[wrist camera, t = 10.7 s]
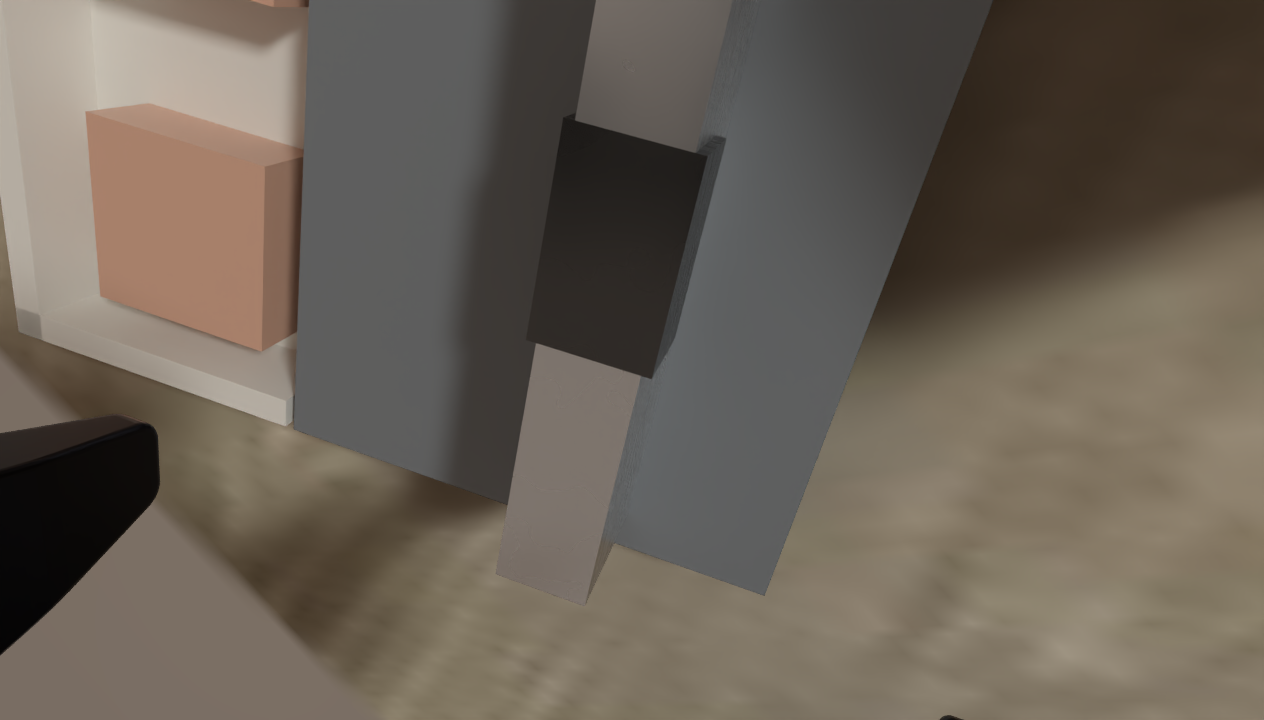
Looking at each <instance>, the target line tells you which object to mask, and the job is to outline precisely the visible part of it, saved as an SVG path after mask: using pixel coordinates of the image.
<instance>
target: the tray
mask: <svg viewBox="0 0 1264 720" xmlns="http://www.w3.org/2000/svg"><path fill="white" fill-rule="evenodd" d="M308 17H309V7H272V6H268V5H264V4H261V3H257V2H254V1H250V0H0V196H1V203H2V211H3V218H4V225H5V233H6V240H7V248H8V255H9V263H10V270H11V277H12V285H13V292H14V300H15V307H16V315H17V322H18V329H19V332H20V333H23V334H25V335H28V336H31V337H34V338H37V339H40V340H42V341H45V342H48V343H51V344H54V345H57V346H59V347H62V348H65V349H68V350H71V351H74V352H76V353H79V354H82V355H85V356H88V357H91V358H93V359H96V360H99V361H102V362H105V363H108V364H110V365H113V366H116V367H119V368H122V369H124V370H127V371H130V372H133V373H136V374H139V375H141V376H144V377H147V378H150V379H153V380H156V381H158V382H161V383H164V384H167V385H170V386H173V387H175V388H178V389H181V390H184V391H187V392H190V393H192V394H195V395H198V396H201V397H204V398H206V399H209V400H212V401H215V402H218V403H221V404H223V405H226V406H229V407H232V408H235V409H238V410H240V411H243V412H246V413H249V414H252V415H255V416H257V417H260V418H263V419H266V420H269V421H272V422H274V423H277V424H280V425H283V426H287V425H288V424H289V423H291V422H292V421H294V407H295V379H296V351H297V332H296V333H294V334H292V335H290V336H288V337H287V338H285V339H283V340H281V341H280V342H278V343H276V344H274V345H273V346H271V347H269V348H267V349H266V350H264V351H262V352H261V351H258V350H255V349H252V348H250V347H247V346H244V345H241V344H238V343H235V342H232V341H229V340H226V339H223V338H220V337H217V336H215V335H212V334H209V333H206V332H203V331H200V330H197V329H194V328H191V327H188V326H185V325H183V324H180V323H177V322H174V321H171V320H168V319H165V318H162V317H159V316H156V315H153V314H150V313H148V312H145V311H142V310H139V309H136V308H133V307H130V306H127V305H124V304H121V303H118V302H116V301H113V300H110V299H107V298H104V297H101V296H100V287H99V274H98V262H97V249H96V237H95V225H94V212H93V200H92V187H91V175H90V163H89V150H88V138H87V125H86V113H85V111H93V110H100V109H108V108H116V107H123V106H131V105H139V104H147V103H151V104H154V105H157V106H160V107H164V108H167V109H170V110H174V111H177V112H180V113H184V114H187V115H190V116H194V117H197V118H200V119H204V120H207V121H210V122H214V123H217V124H220V125H223V126H227V127H230V128H233V129H237V130H240V131H243V132H247V133H250V134H253V135H257V136H260V137H263V138H267V139H270V140H273V141H276V142H280V143H283V144H286V145H290V146H293V147H296V148H300V149H303V150H304V129H305V101H306V73H307V45H308Z"/></svg>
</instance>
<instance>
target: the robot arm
mask: <svg viewBox="0 0 1264 720" xmlns="http://www.w3.org/2000/svg"><path fill="white" fill-rule="evenodd" d="M159 486H160V471H159V450H158V435H157V432H156V430H155V429H154V427H153V426H151V425H150V424H148V423H146V422H143V421H141V420H138V419H135V418H132V417H130V416H127V415H122V414H112V415H106V416H100V417H94V418H88V419H83V420H77V421H71V422H65V423H59V424H54V425H47V426H41V427H35V428H30V429H24V430H17V431H11V432H5V433H0V655H1V654H3V653H4V652H5V651H6V650H7V649H8V648H9V647H10V646H12V645H13V644H14V643H15V642H16V641H17V640H18V639H19V638H21V637H22V636H23V635H24V634H25V633H26V632H27V631H28V630H30V629H31V628H32V627H33V626H34V625H35V624H36V623H37V622H38V621H39V620H40V619H42V618H43V617H44V616H45V615H46V614H47V613H48V612H49V611H50V610H51V609H52V608H53V607H54V606H55V605H56V604H57V603H58V602H59V601H60V600H61V599H62V598H63V597H64V596H65V595H66V594H67V593H68V592H69V591H70V590H71V589H72V588H73V587H74V585H76V584H77V583H78V582H79V580H80V579H81V578H82V577H83V576H84V575H85V574H86V573H87V572H88V571H89V570H90V569H91V568H92V567H93V565H94V564H95V563H96V562H97V561H98V560H99V559H100V558H101V557H102V556H103V555H104V554H105V553H106V552H107V551H108V549H109V548H110V547H111V546H112V545H113V544H114V543H115V542H116V541H117V540H118V539H119V538H120V537H121V536H122V535H123V534H124V533H125V531H126V530H127V529H128V528H129V527H130V526H131V525H132V524H133V523H134V522H135V521H136V520H137V519H138V517H139V516H140V515H141V514H142V513H143V512H144V511H145V510H146V509H147V508H148V507H149V506H150V505H151V503H152V502H153V500H154V499H155V497H156V495H157V493H158V490H159ZM940 720H963V719H960V718H957V717H954V716H951V715H947V716H943V717H942V718H941V719H940Z"/></svg>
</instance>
